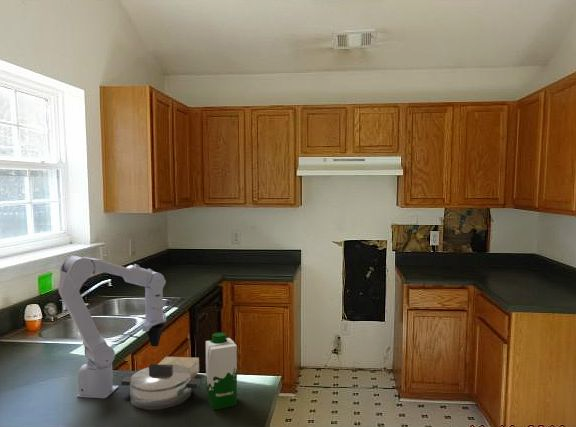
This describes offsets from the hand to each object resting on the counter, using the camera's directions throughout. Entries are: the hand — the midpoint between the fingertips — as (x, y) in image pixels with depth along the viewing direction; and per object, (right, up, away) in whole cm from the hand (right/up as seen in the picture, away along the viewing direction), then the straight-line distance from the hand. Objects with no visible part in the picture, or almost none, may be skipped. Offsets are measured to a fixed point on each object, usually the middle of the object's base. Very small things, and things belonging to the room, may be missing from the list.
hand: (154, 345), depth 146 cm
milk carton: (+26, -11, -20) cm, 34 cm away
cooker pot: (+7, -11, -10) cm, 16 cm away
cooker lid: (+6, -6, -15) cm, 17 cm away
